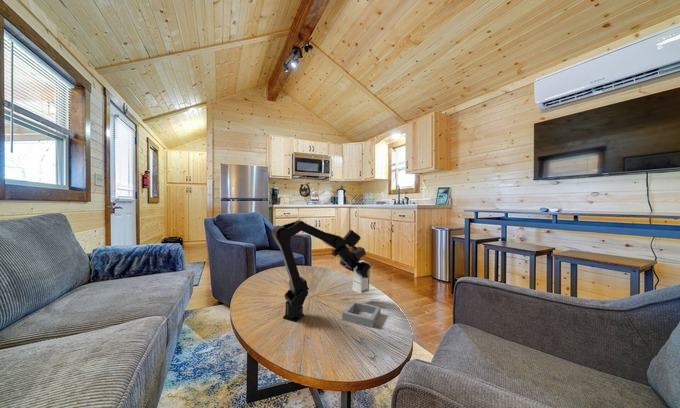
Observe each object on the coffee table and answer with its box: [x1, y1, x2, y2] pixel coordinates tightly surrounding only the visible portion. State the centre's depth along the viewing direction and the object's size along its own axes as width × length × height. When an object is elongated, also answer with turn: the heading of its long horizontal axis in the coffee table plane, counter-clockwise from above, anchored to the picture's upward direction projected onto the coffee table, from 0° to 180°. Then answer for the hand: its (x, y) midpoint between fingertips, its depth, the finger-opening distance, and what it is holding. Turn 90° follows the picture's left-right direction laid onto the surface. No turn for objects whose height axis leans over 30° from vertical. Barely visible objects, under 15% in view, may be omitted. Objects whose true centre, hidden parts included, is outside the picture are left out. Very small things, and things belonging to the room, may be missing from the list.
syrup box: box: [352, 260, 371, 295], centre depth 120 cm, size 6×6×14 cm
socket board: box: [341, 300, 382, 328], centre depth 105 cm, size 13×13×3 cm
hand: (363, 275), depth 121 cm, fingers closed on syrup box, 6 cm apart
